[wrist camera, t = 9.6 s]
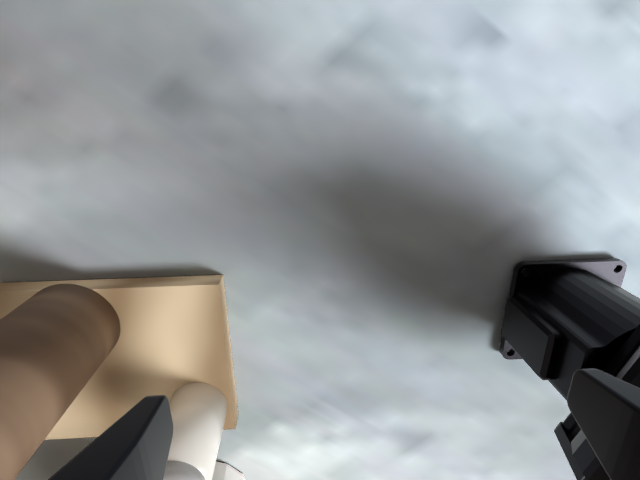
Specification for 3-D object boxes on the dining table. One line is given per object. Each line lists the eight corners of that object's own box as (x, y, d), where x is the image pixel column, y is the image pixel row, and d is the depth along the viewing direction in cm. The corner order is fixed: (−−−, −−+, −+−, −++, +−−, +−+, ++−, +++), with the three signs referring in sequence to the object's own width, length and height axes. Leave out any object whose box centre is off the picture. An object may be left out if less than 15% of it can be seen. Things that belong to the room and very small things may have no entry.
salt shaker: (224, 380, 22) (200, 475, 17) (230, 425, 23) (209, 527, 18) (166, 383, 22) (121, 480, 16) (174, 428, 23) (135, 532, 18)
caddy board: (223, 274, 21) (218, 284, 20) (238, 414, 25) (235, 428, 24) (0, 282, 21) (-17, 293, 19) (47, 424, 24) (35, 440, 23)
